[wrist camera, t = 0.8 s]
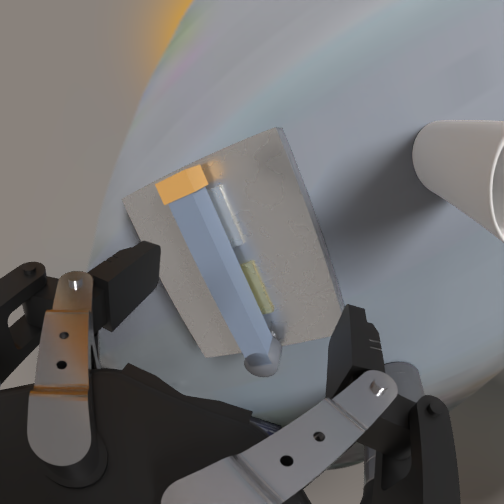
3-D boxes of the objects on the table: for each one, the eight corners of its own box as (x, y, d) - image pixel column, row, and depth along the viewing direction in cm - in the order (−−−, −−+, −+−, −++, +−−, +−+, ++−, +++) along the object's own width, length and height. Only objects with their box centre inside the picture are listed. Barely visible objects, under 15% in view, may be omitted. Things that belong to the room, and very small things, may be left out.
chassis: (345, 308, 35) (347, 337, 30) (218, 335, 41) (204, 361, 36) (282, 127, 28) (274, 127, 23) (144, 189, 34) (118, 200, 29)
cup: (414, 196, 28) (483, 258, 14) (408, 119, 25) (486, 117, 11) (475, 194, 26) (562, 248, 11) (472, 121, 23) (568, 131, 8)
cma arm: (286, 355, 32) (282, 375, 29) (257, 360, 33) (251, 379, 31) (201, 163, 26) (187, 168, 23) (170, 178, 27) (153, 185, 24)
